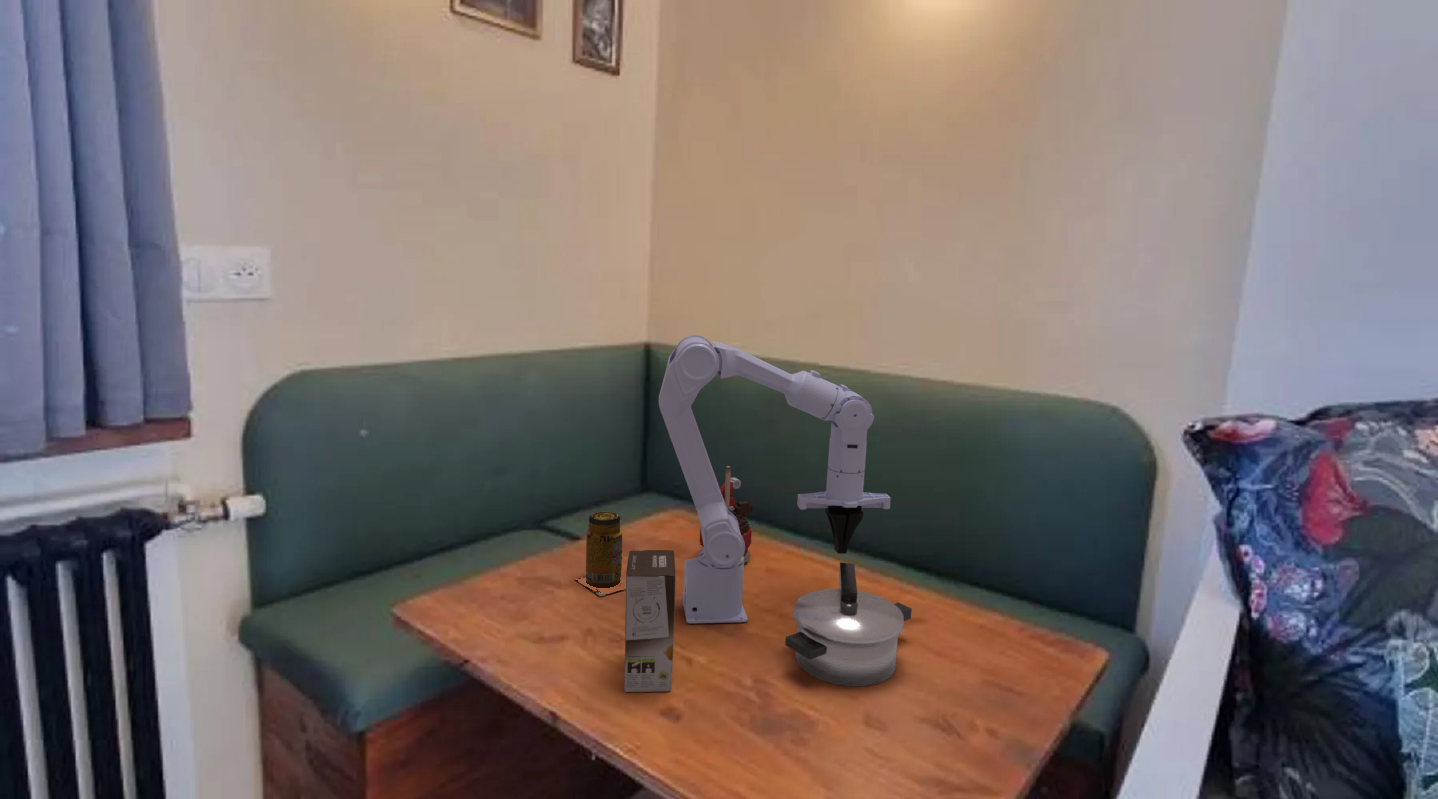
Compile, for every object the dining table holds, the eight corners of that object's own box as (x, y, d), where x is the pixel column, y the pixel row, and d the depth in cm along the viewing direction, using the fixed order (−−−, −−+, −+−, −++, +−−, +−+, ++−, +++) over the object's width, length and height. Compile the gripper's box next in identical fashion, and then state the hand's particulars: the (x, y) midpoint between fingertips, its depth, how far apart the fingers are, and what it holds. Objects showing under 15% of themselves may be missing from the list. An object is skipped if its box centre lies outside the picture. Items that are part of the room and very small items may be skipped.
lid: (908, 650, 103) (910, 625, 102) (791, 639, 105) (793, 614, 104) (895, 589, 122) (896, 567, 121) (796, 580, 124) (797, 558, 123)
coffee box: (673, 692, 102) (676, 575, 99) (623, 693, 102) (625, 575, 99) (671, 657, 111) (674, 549, 108) (625, 657, 111) (627, 548, 108)
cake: (713, 573, 141) (717, 476, 138) (687, 556, 149) (690, 463, 145) (762, 563, 146) (766, 469, 143) (734, 546, 154) (738, 457, 151)
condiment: (610, 571, 140) (611, 506, 138) (637, 587, 134) (638, 520, 132) (574, 580, 136) (574, 514, 134) (599, 598, 129) (600, 528, 127)
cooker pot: (833, 703, 101) (836, 660, 100) (761, 658, 112) (763, 618, 111) (940, 656, 114) (943, 617, 113) (867, 619, 125) (870, 583, 124)
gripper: (807, 475, 118) (801, 561, 120) (899, 475, 120) (892, 560, 122) (796, 463, 125) (791, 544, 127) (884, 463, 127) (878, 543, 129)
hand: (840, 551), depth 125 cm, fingers closed
